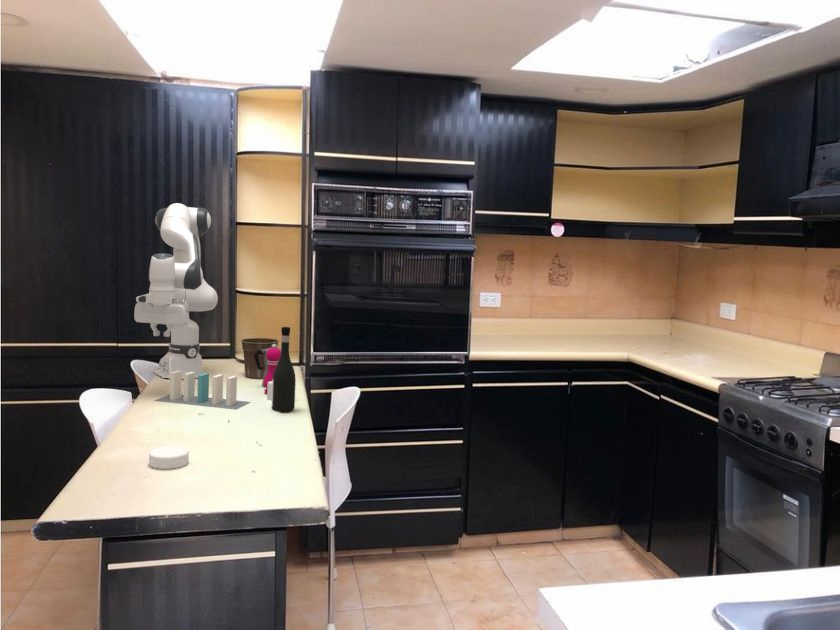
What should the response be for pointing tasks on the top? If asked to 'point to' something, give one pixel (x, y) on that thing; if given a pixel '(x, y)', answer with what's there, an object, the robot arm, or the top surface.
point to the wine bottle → (284, 378)
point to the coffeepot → (264, 361)
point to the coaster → (168, 457)
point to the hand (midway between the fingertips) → (161, 336)
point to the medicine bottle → (269, 390)
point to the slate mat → (206, 403)
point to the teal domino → (203, 388)
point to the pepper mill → (271, 364)
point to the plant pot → (249, 349)
